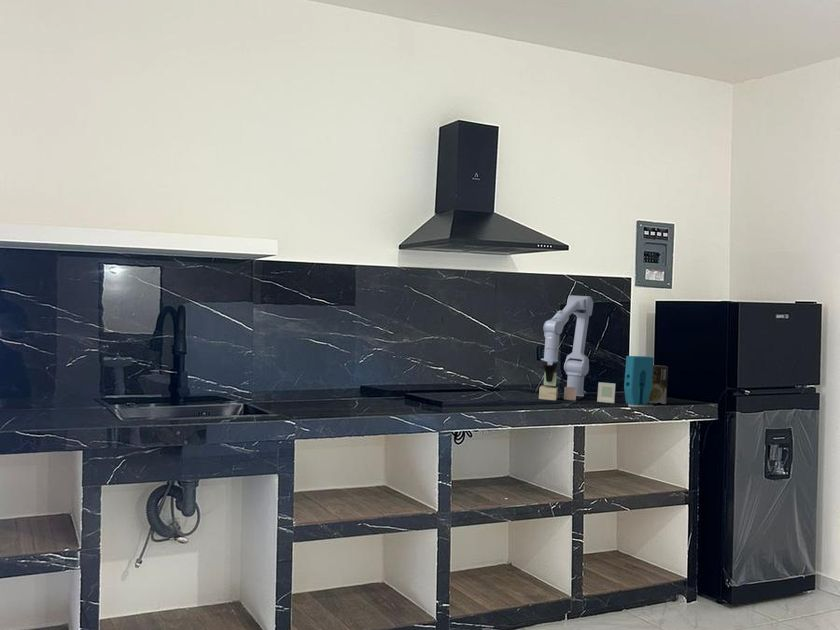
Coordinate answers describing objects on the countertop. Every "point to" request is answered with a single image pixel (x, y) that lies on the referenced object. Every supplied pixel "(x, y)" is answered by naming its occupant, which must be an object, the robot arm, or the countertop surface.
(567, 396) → the pink cube
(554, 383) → the sage cube
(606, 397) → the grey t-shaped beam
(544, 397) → the base block
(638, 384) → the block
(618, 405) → the countertop surface
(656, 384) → the coffee box
